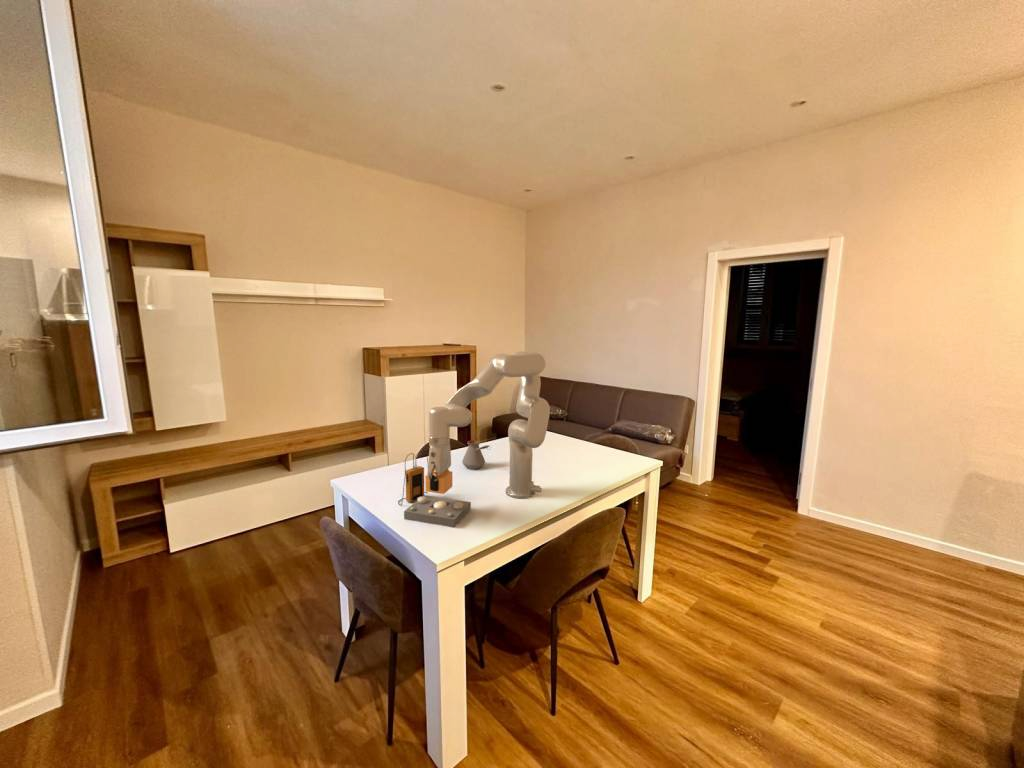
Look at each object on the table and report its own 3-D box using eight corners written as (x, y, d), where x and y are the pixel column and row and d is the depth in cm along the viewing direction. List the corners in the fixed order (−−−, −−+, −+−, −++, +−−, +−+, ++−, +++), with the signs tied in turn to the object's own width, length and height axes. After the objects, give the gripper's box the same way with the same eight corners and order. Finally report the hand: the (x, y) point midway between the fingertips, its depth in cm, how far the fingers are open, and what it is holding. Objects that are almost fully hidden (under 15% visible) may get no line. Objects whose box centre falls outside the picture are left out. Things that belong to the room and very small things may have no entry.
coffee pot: (458, 465, 205) (458, 436, 203) (478, 461, 211) (478, 433, 209) (478, 479, 187) (478, 447, 185) (499, 474, 193) (499, 444, 191)
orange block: (452, 486, 154) (452, 471, 153) (443, 494, 147) (443, 478, 146) (434, 484, 156) (434, 469, 155) (425, 491, 149) (425, 475, 148)
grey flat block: (470, 509, 156) (470, 498, 156) (454, 527, 142) (454, 515, 141) (424, 502, 162) (424, 491, 161) (404, 519, 147) (403, 507, 147)
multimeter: (416, 488, 175) (416, 443, 172) (431, 495, 169) (431, 448, 166) (387, 499, 164) (385, 451, 161) (402, 506, 158) (401, 457, 155)
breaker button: (448, 509, 155) (448, 502, 154) (443, 515, 150) (443, 507, 150) (437, 507, 156) (437, 500, 156) (431, 513, 152) (431, 505, 151)
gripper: (437, 448, 140) (437, 496, 142) (458, 435, 156) (458, 479, 159) (418, 445, 142) (418, 493, 144) (440, 434, 159) (440, 477, 161)
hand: (439, 486), depth 152 cm, fingers closed on orange block, 7 cm apart
